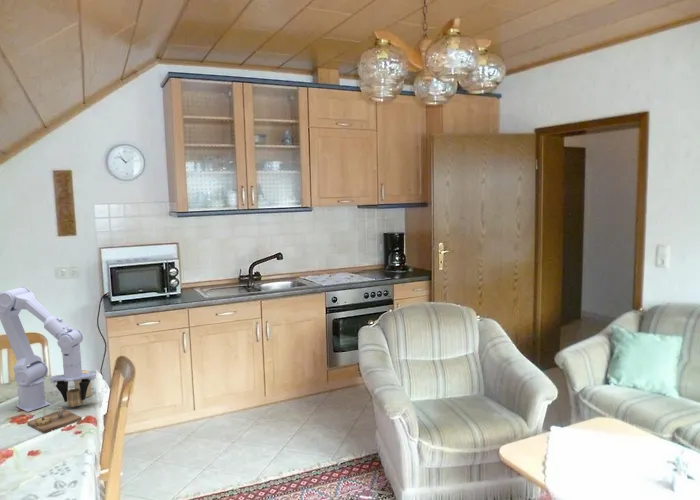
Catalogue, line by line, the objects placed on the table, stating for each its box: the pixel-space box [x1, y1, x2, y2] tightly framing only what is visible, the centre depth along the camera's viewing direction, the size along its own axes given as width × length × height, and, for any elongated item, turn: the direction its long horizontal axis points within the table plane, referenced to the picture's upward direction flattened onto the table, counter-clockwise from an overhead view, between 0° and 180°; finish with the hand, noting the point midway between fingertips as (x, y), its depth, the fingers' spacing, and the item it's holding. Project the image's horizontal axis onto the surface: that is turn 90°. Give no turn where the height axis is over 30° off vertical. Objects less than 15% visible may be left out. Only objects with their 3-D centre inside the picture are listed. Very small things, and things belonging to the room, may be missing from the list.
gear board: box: [26, 405, 83, 434], centre depth 171 cm, size 12×12×5 cm
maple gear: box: [66, 388, 84, 408], centre depth 183 cm, size 5×5×5 cm
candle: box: [73, 369, 92, 399], centre depth 193 cm, size 6×6×10 cm
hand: (75, 400), depth 183 cm, fingers closed on maple gear, 5 cm apart
